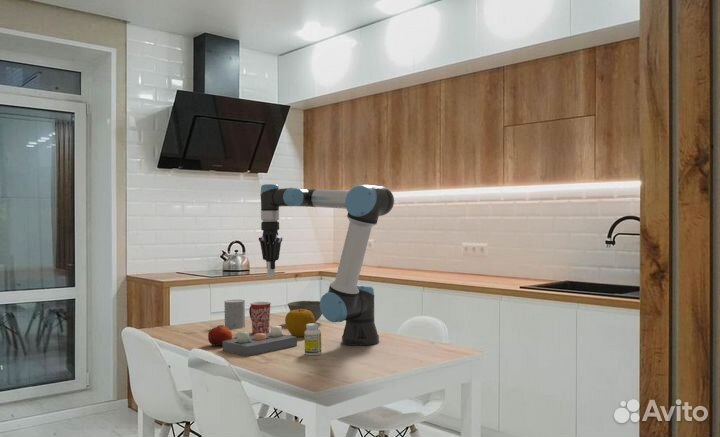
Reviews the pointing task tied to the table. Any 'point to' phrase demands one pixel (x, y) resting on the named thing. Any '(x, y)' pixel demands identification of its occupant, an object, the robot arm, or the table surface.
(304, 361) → the table surface
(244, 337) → the button sage
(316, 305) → the bowl
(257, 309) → the mug
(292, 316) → the apple
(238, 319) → the grey stone cylinder
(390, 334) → the table surface
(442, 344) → the table surface
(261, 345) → the panel
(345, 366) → the table surface
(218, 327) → the tomato
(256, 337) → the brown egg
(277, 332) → the button cream
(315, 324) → the pill bottle
